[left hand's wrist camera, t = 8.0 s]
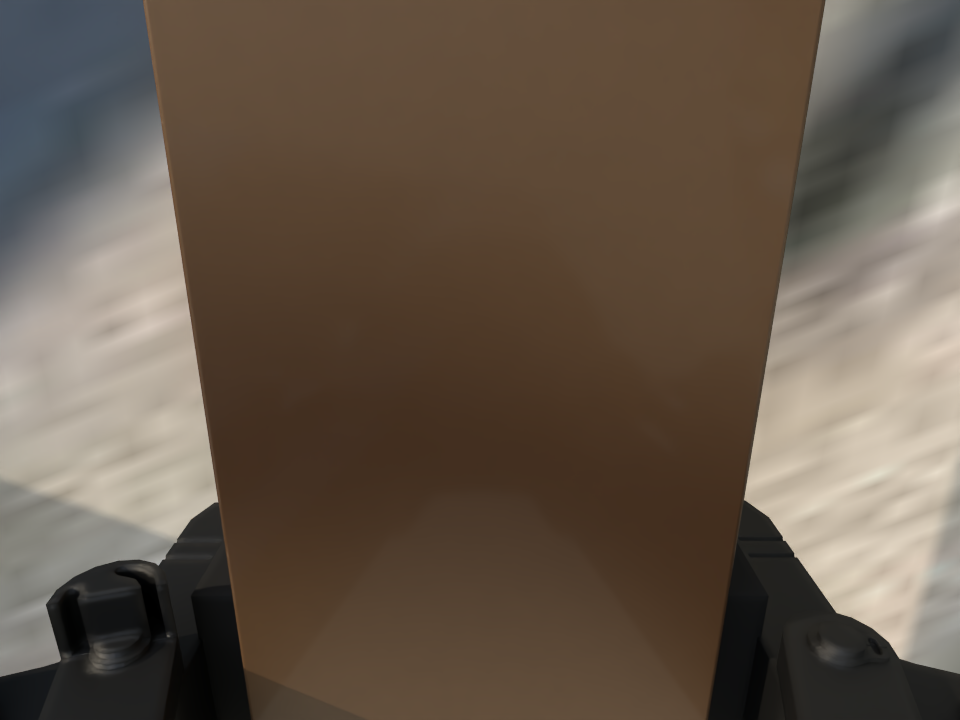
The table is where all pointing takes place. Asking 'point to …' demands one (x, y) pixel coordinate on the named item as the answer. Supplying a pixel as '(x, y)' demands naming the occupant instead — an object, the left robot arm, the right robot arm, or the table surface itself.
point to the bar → (482, 336)
